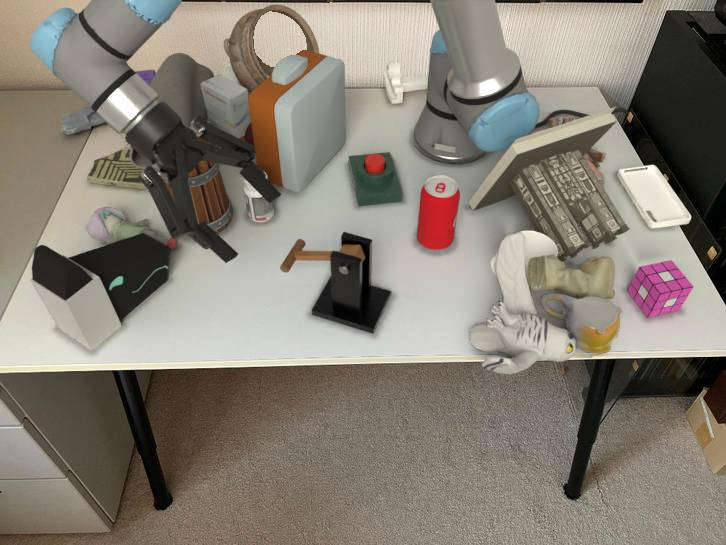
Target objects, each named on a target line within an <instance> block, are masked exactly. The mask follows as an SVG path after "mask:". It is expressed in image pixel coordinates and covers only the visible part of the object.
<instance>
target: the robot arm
mask: <svg viewBox="0 0 726 545" xmlns="http://www.w3.org/2000/svg"><path fill="white" fill-rule="evenodd" d="M182 1H183V0H90V2H88V4H87V5H86V6H85V7H84V8H83V9H82V10H81V11H80V12H76V11H75V10H74V9H72V8H70V7H66V6H64V7H61V8H59V9H57V10H55V11H54V12H52V13H51V14H49V16H47V18H45V20H44V21H42V22H41V23H40V24H39V25H38V26H37V28H35V30H34V31H33V33H32V34H31V37H30V40H29V46H30V49H31V51H32V53H33V54H34V55H35V56H36V57H37V58H38V59H39V60H40V61H41V63H43V64H44V66H45V67H46V68H47V69H48V70H49V71H50V72H51V74H52V75H53V76H54V77H56V78H58V79H59V80H60V82H62V83H63V84H64V85H65V86H67V87H68V88H69V89H70V90H71V91H72V92H73V93H74V94H75V95H76V96H78V97H79V98H80V100H82V101H83V102H84V103H85V104H86V105H87V106H88V107H91V108H92V110H94V111H95V112H96V113H97V114H98V115H99V116H100V117H101V118H102V119H103V120H104V121H105V122H106V123H105V124H106V125H108V126H109V127H110V128H111V129H113V131H114V132H115V133H116V134H118V135H122V134H124V135H125V137H124V139H125V143H127V144H128V145H129V146H130V147H132V148H134V149H135V150H136V151H137V152H138V153H139V154H140V155H141V156H143V157H146V158H148V159H149V160H150V162H151V164H152V166H148V167H147V168H145V169H144V170H143V171H142V172H141V173H140V174H139V176H138V178H139V180H140V181H141V182H142V183H143V184H144V185H145V186H146V188H147V189H146V190H148V192H149V194H150V196H151V198H152V200H153V202H154V204H155V207H156V208H157V210H158V212H159V214H160V217H161V218H162V220H163V222H164V225H165V227H166V229H167V231H168V233H169V235H170V238H171V237H172V238H173V239H175V240H178V239H180V238H182V237H187V236H186V235H189V236H190V237H189V238H191V239H192V240H193V241H195V243H197V245H199V246H200V247H201V248H202V249H204V250H206V251H208V250H211V251H212V252H213V253H214V254H215V255H216V256H217V257H218V258H219V259H221V261H223V262H224V263H225V264H227V263H229V262H231V261H232V260H234V259H235V258H237V256H238V255H239V252H238V251H236V249H235V248H233V247H232V246H231V245H230V244H229V243H227V242H226V240H224V239H223V238H222V237H221V236H220V235H219V233H216V232H215V231H214V230H213V229H211V228H210V227H209V226H208V225H207V224H206V223H205V222H204V221H203V222H201V223H200V224H199V225H198V221H197V217H196V213H195V209H194V205H193V201H192V197H191V193H190V189H189V185H188V178H189V177H188V174H189V173H190V172H191V171H192V170H193V169H194V168H195V166H196V165H197V164H198V163H199V162H200V161H209V162H214V163H219V165H223V166H229V167H234V168H239V169H241V170H240V171H239V172H238V174H239V175H240V176H241V177H242V179H243V178H244V179H245V180H246V181H247V182H248V183H249V184H250V185H251V186H252V187H253V188H254V189H255V190H256V191H257V192H258V193H259V194H260V195H261V196H262V197H263V198H264V199H265V200H266V201H267V202H268V203H271V202H273V203H274V201H276V200H277V199H279V198H280V197H281V196H282V193H281V192H280V190H279V189H278V188H276V186H275V185H274V184H272V183H270V182H269V181H268V180H267V179H266V178H265V177H266V175H265V173H264V172H263V171H262V170H261V169H260V168H259V167H258V166H257V163H256V162H254V160H256V154H255V153H254V151H255V148H254V146H253V145H251V144H249V143H247V142H245V141H243V140H241V139H239V138H237V137H235V136H233V135H231V134H229V133H227V132H225V131H223V130H221V129H218V128H216V127H214V126H212V125H211V124H210V123H208V122H207V121H208V120H205V119H204V118H203V117H201V116H197V117H196V118H195V119H194V120H193V121H192V122H191V123H190V124H189V128H188V127H186V126H184V125H183V123H182V119H181V117H180V116H179V115H178V114H177V113H176V112H175V111H174V110H173V109H172V108H171V107H170V106H169V105H168V104H167V103H166V102H163V101H162V102H159V101H158V100H157V99H158V96H159V95H158V94H157V93H156V92H155V91H154V90H153V89H152V88H151V87H150V86H149V85H148V84H147V83H146V82H145V81H144V80H143V79H142V78H141V77H140V76H139V75H138V74H136V72H135V71H136V70H134V69H133V68H132V67H131V66H130V65H129V64H128V61H129V60H130V59H131V58H133V56H134V55H135V54H136V53H137V52H138V51H139V50H140V49H141V48H142V46H144V45H145V43H147V41H148V40H149V39H150V38H151V37H152V36H153V35H154V34H156V32H157V31H158V30H159V29H160V28H161V27H162V26H163V25H164V24H166V23H167V22H168V21H169V20H170V19H171V17H172V15H173V14H174V13H175V11H176V10H177V9H178V7H179V6H180V5H181V4H182ZM429 1H430V4H431V8H432V11H433V14H434V17H435V20H436V23H437V26H438V30H436V31H435V32H434V34H433V36H432V39H431V45H430V48H429V54H430V55H429V64H428V74H427V76H428V85H427V89H426V99H425V105H424V107H423V109H422V111H421V113H420V115H419V117H418V119H417V121H416V124H415V126H414V129H413V144H414V146H415V148H416V149H417V151H418V152H420V153H421V154H422V155H423V156H425V157H426V158H428V159H430V160H432V161H434V162H439V163H443V164H450V165H462V164H467V163H472V162H475V161H477V160H479V159H481V158H483V157H484V156H485V155H486V154H487V153H493V154H496V153H501V152H504V151H505V152H506V151H507V150H508V149H509V148H510V146H511V145H512V144H513V142H514V141H515V140H516V139H518V138H521V137H524V136H527V135H531V132H532V131H533V130H534V129H538V128H541V127H543V126H545V125H546V124H548V121H549V119H551V118H554V117H556V116H557V115H571V116H574V117H575V116H576V117H580V118H583V117H586V116H589V115H590V114H588V113H584V112H580V111H577V110H576V111H575V110H572V109H557V110H554V111H552V112H550V113H549V115H547V117H546V118H545V119H543V120H542V121H540V122H538V121H539V119H540V114H541V113H540V112H541V110H540V104H539V103H538V101H537V98H536V97H535V95H534V94H532V93H531V92H530V91H529V90H528V88H527V86H526V82H525V78H524V74H523V69H522V65H521V61H520V57H519V56H518V54H517V52H516V51H514V50H513V49H510V48H508V47H507V46H506V42H505V37H504V33H503V28H502V25H501V21H500V16H499V11H498V8H497V4H496V0H429ZM617 113H623V114H624V115H629V114H630V112H629V110H628V109H627V108H625V107H616V108H615V109H614V110H613V111H612V112H611V114H612V115H613V116H614V114H617ZM197 137H200V138H201V139H203V140H205V141H207V142H209V143H212V144H214V145H216V146H218V147H214V146H212V145H211V144H209V143H205V142H201V141H198V140H197ZM162 173H165V174H166V176H167V180H168V184H169V187H170V188H172V192H173V196H174V200H175V202H174V200H173V198H172V196H171V194H170V192H169V190H168V188H167V186H166V184H165V182H164V180H163V179H162V176H161V175H162Z"/></svg>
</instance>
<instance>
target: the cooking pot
mask: <svg viewBox="0 0 726 545" xmlns="http://www.w3.org/2000/svg"><path fill="white" fill-rule="evenodd" d="M269 11H272V12H278V13H281V14H284V15H286V16H288V17H290V18H291V19H293V20H294V21H295V22H296V23H297V24H298V25H299V26H300V28H301V29H302V31H303V33H304V35H305V37H306V43H307V50H308V51H312V52H315V53H319V54H320V48H319V44H318V41H317V39H316V36H315V34H314V32H313V30H312V28H311V26H310V25H309V24H308V22H307V20H306V19H305V18H304V17H303V16H302V15H301V14H299V12H297V11H295V10H294V9H292V8H290V7H289V6H286V5H283V4H269V5H267V6H265V7H264V8H257V9H254V10H250V11H249V12H247V13H245V14H244V15H242V16H241V17H240V18H239V19H238V21H237V22H236V23H235V25H234V27H233V28H232V30H231V33H230V36H229V38H225V39H224V40H223V49H224V52H225V54H226V55H227V57H228V58H229V62H230V63H231V66H232V69H233V71H234V74H235V76H236V77H237V79H238V81H239V82H240V84H241V85H242V86H243V87H244V88H246V89H248V94H250V93H251V92H252V91H253V90H254V89H255V88H256V87H258V86H259V85H260V84H261V83H262V82H264V81H265V80H266V79H267V77H266V75H268V76H269V77H270V76H271V75H272V73H273V70H274V68H275V67H270V66H269V65H266V64H265V63H263V62H262V60H261V59H260V58H259V57H258V56H257V55H256V53H255V49H254V39H253V36H254V30H255V26H256V24H257V22H258V20H259V19H260V17H261V16H262V15H264V14H265V13H267V12H269Z"/></svg>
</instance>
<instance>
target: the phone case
mask: <svg viewBox="0 0 726 545" xmlns="http://www.w3.org/2000/svg"><path fill="white" fill-rule="evenodd" d="M629 170H631V171H629ZM616 176H617V179H618V180H619V183H621V185H622V187H623V189H624V190H625V192H626V193H627V195H628V196H629V198H630V200H631V201H632V203H633V205H634V206H635V208H636V209H637V211H638V213H639V214H640V216H641V217H642V218H643V220H644V222H645V223H646V225H647V226H648V227H649V228H650V229H652V230H654V229H660V228H668V227H675V226H683V225H689V224H690V222H691V219H692V215H691V213H690V212H689V211H688V209H687V208H686V206H685V205H684V203H683V202H682V200H681V199H680V198H679V196H678V195H677V193H676V192H675V190H674V189H673V187H672V186H671V184H669V182H668V181H667V179H666V178H665V176H664V175H663V174H662V172H661V171H660V169H659V168H658V167H657V165H655V164H650V165H649V164H647V165H639V166H632V167H625V168H619V169H618V171H617V174H616ZM647 212H650V213H651V215H652V217H653V218H654V220H655V221H654V220H652V218H651V217H650V215H649V214H648V213H647Z"/></svg>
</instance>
